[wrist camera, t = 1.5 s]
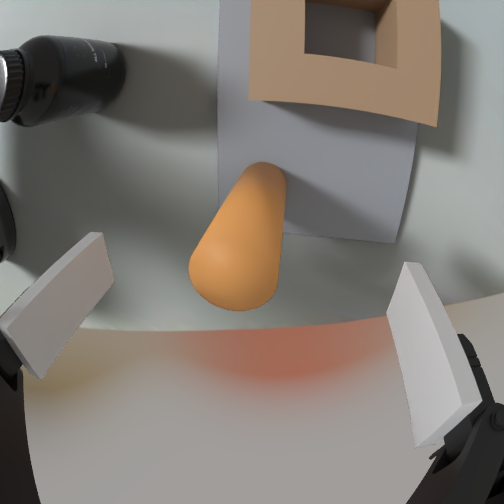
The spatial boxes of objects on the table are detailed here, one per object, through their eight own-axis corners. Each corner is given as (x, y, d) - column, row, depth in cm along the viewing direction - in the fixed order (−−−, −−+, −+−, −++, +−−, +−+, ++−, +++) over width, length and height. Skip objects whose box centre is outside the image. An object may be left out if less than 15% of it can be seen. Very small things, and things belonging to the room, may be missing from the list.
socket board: (222, 222, 25) (202, 259, 20) (224, -27, 13) (202, -59, 8) (391, 238, 23) (412, 278, 18) (415, -5, 12) (447, -27, 7)
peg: (239, 204, 23) (192, 305, 12) (239, 160, 21) (184, 232, 11) (285, 208, 22) (274, 315, 12) (288, 163, 20) (281, 240, 10)
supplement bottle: (138, 45, 17) (30, 32, 7) (116, 118, 21) (10, 152, 11) (82, 39, 17) (-21, 39, 7) (64, 104, 20) (-35, 134, 10)
